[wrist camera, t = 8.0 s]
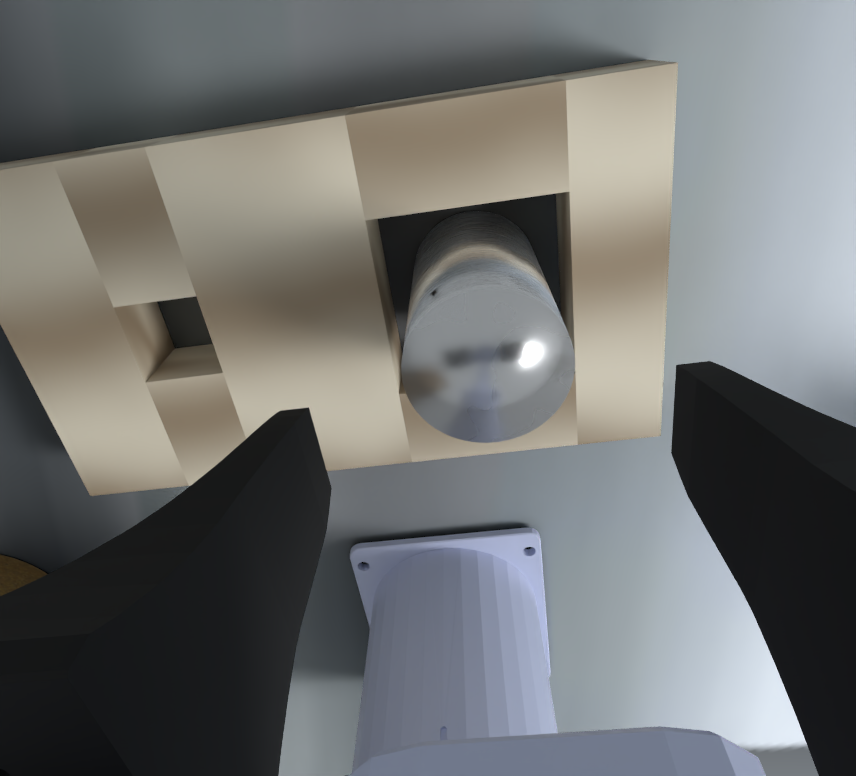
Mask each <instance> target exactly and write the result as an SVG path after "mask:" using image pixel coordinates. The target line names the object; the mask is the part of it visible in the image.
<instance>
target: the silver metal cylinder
mask: <svg viewBox="0 0 856 776" xmlns="http://www.w3.org/2000/svg"><path fill="white" fill-rule="evenodd" d="M574 372H575V354H574V348H573V345H572V341H571V338H570V336H569V334H568V331H567V329H566V326H565V324H564V322H563V319H562V317H561V315H560V312H559V310H558V308H557V305H556V303H555V300H554V298H553V296H552V293H551V291H550V289H549V286H548V284H547V282H546V279H545V277H544V274H543V272H542V270H541V267H540V265H539V263H538V260H537V258H536V256H535V253H534V251H533V248H532V246H531V244H530V242H529V240H528V238H527V237H526V235H525V234H524V233H523V232H522V230H521V229H520V228H519V227H518V226H517V225H515V224H514V223H513V222H511V221H510V220H508V219H507V218H505V217H503V216H501V215H498V214H495V213H492V212H486V211H467V212H462V213H458V214H455V215H453V216H450V217H448V218H447V219H445V220H443V221H441V222H440V223H439V224H437V225H436V226H435V227H434V228H433V229H432V230H431V231H430V232H429V233H428V234H427V235H426V237H425V238H424V240H423V241H422V243H421V245H420V247H419V249H418V252H417V255H416V259H415V265H414V273H413V280H412V288H411V295H410V303H409V310H408V318H407V325H406V333H405V340H404V347H403V355H402V362H401V374H402V381H403V386H404V389H405V392H406V395H407V397H408V399H409V401H410V403H411V404H412V406H413V407H414V409H415V410H416V412H417V413H418V414H419V415H420V416H421V417H422V418H423V419H424V420H425V421H426V422H427V423H428V424H430V425H431V426H432V427H434V428H435V429H437V430H439V431H440V432H442V433H444V434H446V435H449V436H451V437H454V438H457V439H460V440H464V441H470V442H478V443H491V442H501V441H506V440H510V439H514V438H517V437H520V436H522V435H525V434H527V433H529V432H531V431H533V430H534V429H536V428H538V427H539V426H541V425H542V424H543V423H545V422H546V421H547V420H548V419H549V418H550V417H552V416H553V415H554V414H555V412H556V411H557V410H558V409H559V408H560V406H561V405H562V403H563V402H564V400H565V399H566V397H567V395H568V393H569V391H570V388H571V385H572V382H573V378H574Z"/></svg>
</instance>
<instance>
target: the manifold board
mask: <svg viewBox="0 0 856 776" xmlns="http://www.w3.org/2000/svg"><path fill="white" fill-rule="evenodd" d="M677 71H678V63H676V62H665V61H655V60H644V61H638V62H632V63H625V64H619V65H613V66H607V67H600V68H594V69H588V70H581V71H575V72H569V73H563V74H556V75H550V76H544V77H538V78H531V79H525V80H519V81H512V82H506V83H500V84H494V85H487V86H481V87H475V88H469V89H462V90H456V91H450V92H443V93H437V94H431V95H425V96H418V97H412V98H406V99H400V100H393V101H387V102H381V103H374V104H368V105H362V106H356V107H349V108H343V109H337V110H331V111H324V112H318V113H312V114H305V115H299V116H293V117H287V118H280V119H274V120H268V121H262V122H255V123H249V124H243V125H236V126H230V127H224V128H218V129H211V130H205V131H199V132H193V133H186V134H180V135H174V136H167V137H161V138H155V139H149V140H142V141H136V142H130V143H124V144H117V145H111V146H105V147H98V148H92V149H86V150H80V151H73V152H67V153H61V154H55V155H48V156H42V157H36V158H29V159H23V160H17V161H11V162H4V163H0V325H1V327H2V328H3V330H4V332H5V334H6V336H7V338H8V340H9V342H10V344H11V346H12V347H13V349H14V351H15V353H16V355H17V357H18V359H19V361H20V363H21V365H22V367H23V368H24V370H25V372H26V374H27V376H28V378H29V380H30V382H31V384H32V386H33V387H34V389H35V391H36V393H37V395H38V397H39V399H40V401H41V403H42V405H43V406H44V408H45V410H46V412H47V414H48V416H49V418H50V420H51V422H52V424H53V426H54V427H55V429H56V431H57V433H58V435H59V437H60V439H61V441H62V443H63V445H64V446H65V448H66V450H67V452H68V454H69V456H70V458H71V460H72V462H73V464H74V465H75V467H76V469H77V471H78V473H79V475H80V477H81V479H82V481H83V483H84V485H85V486H86V488H87V490H88V492H89V494H90V496H95V495H104V494H114V493H123V492H133V491H142V490H152V489H161V488H171V487H180V486H190V485H192V484H193V483H195V482H196V481H197V480H198V479H200V478H201V477H202V476H203V475H205V474H206V473H207V472H208V471H210V470H211V469H212V468H213V467H215V466H216V465H217V464H218V463H219V462H220V461H222V460H223V459H224V458H225V457H226V456H227V455H228V454H230V453H231V452H232V451H233V450H234V449H235V448H236V447H238V446H239V445H240V444H241V443H242V442H243V441H244V440H245V439H247V438H248V437H249V436H250V435H251V434H252V433H253V432H254V431H256V430H257V429H258V428H259V427H260V426H261V425H262V424H264V423H265V422H266V421H267V420H268V419H269V418H271V417H272V416H273V415H275V414H276V413H277V412H279V411H282V410H291V409H300V408H308V407H309V410H310V413H311V417H312V420H313V424H314V427H315V431H316V435H317V438H318V442H319V445H320V449H321V452H322V456H323V460H324V463H325V467H326V470H327V471H332V470H342V469H351V468H361V467H370V466H380V465H389V464H399V463H408V462H418V461H427V460H437V459H446V458H455V457H465V456H474V455H484V454H493V453H503V452H512V451H522V450H531V449H541V448H550V447H560V446H569V445H579V444H588V443H598V442H607V441H617V440H626V439H636V438H645V437H655V436H661V416H662V395H663V373H664V351H665V330H666V308H667V287H668V265H669V243H670V222H671V200H672V179H673V157H674V135H675V114H676V92H677ZM549 194H556V211H557V234H558V257H559V280H560V303H561V317H562V319H563V322H564V324H565V326H566V329H567V331H568V334H569V336H570V338H571V341H572V345H573V348H574V354H575V372H574V378H573V382H572V385H571V388H570V391H569V393H568V395H567V397H566V399H565V400H564V402H563V403H562V405H561V406H560V408H559V409H558V410H557V411H556V412H555V414H554V415H553V416H552V417H550V418H549V419H548V420H547V421H546V422H545V423H543V424H542V425H541V426H539V427H538V428H536V429H534V430H533V431H531V432H529V433H527V434H525V435H522V436H520V437H517V438H514V439H510V440H506V441H501V442H491V443H478V442H470V441H464V440H460V439H457V438H454V437H451V436H449V435H446V434H444V433H442V432H440V431H439V430H437V429H435V428H434V427H432V426H431V425H430V424H428V423H427V422H426V421H425V420H424V419H423V418H422V417H421V416H420V415H419V414H418V413H417V412H416V410H415V409H414V407H413V406H412V404H411V403H410V401H409V399H408V397H407V395H406V392H405V389H404V386H403V381H402V374H401V362H402V355H403V354H402V349H401V343H400V338H399V333H398V327H397V322H396V316H395V311H394V306H393V300H392V295H391V289H390V284H389V278H388V273H387V268H386V262H385V257H384V251H383V246H382V241H381V235H380V230H379V224H378V219H380V218H387V217H394V216H401V215H408V214H415V213H422V212H429V211H436V210H443V209H450V208H457V207H464V206H471V205H478V204H485V203H492V202H499V201H506V200H513V199H520V198H527V197H534V196H542V195H549ZM195 296H196V297H197V299H198V302H199V305H200V308H201V311H202V314H203V317H204V320H205V322H206V325H207V328H208V331H209V334H210V337H211V340H212V343H213V344H207V345H199V346H191V347H183V348H175V347H174V345H173V342H172V339H171V337H170V334H169V332H168V329H167V326H166V324H165V321H164V319H163V316H162V313H161V311H160V308H159V306H158V303H157V302H158V301H165V300H172V299H180V298H187V297H195Z"/></svg>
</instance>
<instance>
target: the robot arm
mask: <svg viewBox="0 0 856 776" xmlns="http://www.w3.org/2000/svg"><path fill="white" fill-rule="evenodd" d="M671 453H672V456H673V459H674V461H675V464H676V467H677V469H678V472H679V475H680V477H681V480H682V482H683V485H684V487H685V490H686V492H687V495H688V497H689V499H690V500H691V502H692V504H693V506H694V508H695V509H696V511H697V513H698V515H699V517H700V518H701V520H702V522H703V524H704V526H705V527H706V529H707V531H708V533H709V534H710V536H711V538H712V540H713V541H714V543H715V545H716V547H717V548H718V550H719V552H720V553H721V555H722V557H723V559H724V560H725V562H726V564H727V566H728V567H729V569H730V571H731V573H732V574H733V576H734V578H735V580H736V581H737V583H738V585H739V587H740V588H741V590H742V592H743V594H744V596H745V598H746V600H747V602H748V604H749V606H750V608H751V610H752V612H753V614H754V616H755V618H756V621H757V623H758V625H759V628H760V630H761V632H762V634H763V637H764V639H765V641H766V644H767V646H768V648H769V651H770V653H771V655H772V658H773V660H774V662H775V665H776V667H777V670H778V672H779V674H780V677H781V679H782V682H783V684H784V687H785V689H786V692H787V694H788V697H789V699H790V702H791V704H792V706H793V709H794V711H795V714H796V716H797V719H798V722H799V724H800V727H801V729H802V732H803V735H804V737H805V740H806V743H807V745H808V748H809V750H810V753H811V756H812V758H813V761H814V764H815V766H816V769H817V771H818V774H819V776H856V427H853V426H851V425H848V424H846V423H844V422H841V421H839V420H836V419H834V418H832V417H829V416H827V415H824V414H822V413H820V412H818V411H815V410H813V409H811V408H809V407H806V406H804V405H802V404H800V403H798V402H796V401H793V400H791V399H789V398H787V397H785V396H783V395H781V394H779V393H777V392H775V391H773V390H771V389H769V388H766V387H764V386H762V385H760V384H758V383H756V382H754V381H752V380H750V379H748V378H746V377H744V376H742V375H740V374H738V373H736V372H734V371H732V370H730V369H727V368H725V367H723V366H721V365H718V364H716V363H713V362H710V361H707V362H699V363H690V364H681V365H676V381H675V399H674V416H673V434H672V452H671ZM330 496H331V485H330V481H329V478H328V474H327V470H326V467H325V463H324V460H323V456H322V452H321V449H320V445H319V442H318V438H317V435H316V431H315V427H314V424H313V420H312V417H311V413H310V410H309V407H308V408H300V409H291V410H282V411H279V412H277V413H276V414H275V415H273V416H272V417H271V418H269V419H268V420H267V421H266V422H265V423H264V424H262V425H261V426H260V427H259V428H258V429H257V430H256V431H254V432H253V433H252V434H251V435H250V436H249V437H248V438H247V439H245V440H244V441H243V442H242V443H241V444H240V445H239V446H238V447H236V448H235V449H234V450H233V451H232V452H231V453H230V454H228V455H227V456H226V457H225V458H224V459H223V460H222V461H220V462H219V463H218V464H217V465H216V466H215V467H213V468H212V469H211V470H210V471H208V472H207V473H206V474H205V475H203V476H202V477H201V478H200V479H198V480H197V481H196V482H195V483H193V484H192V485H191V486H190V487H188V488H187V489H186V490H185V491H183V492H182V493H181V494H180V495H178V496H177V497H176V498H174V499H173V500H172V501H170V502H169V503H167V504H166V505H165V506H163V507H162V508H160V509H159V510H158V511H156V512H155V513H153V514H152V515H150V516H149V517H147V518H146V519H144V520H143V521H141V522H140V523H138V524H137V525H135V526H134V527H132V528H130V529H129V530H127V531H126V532H124V533H122V534H120V535H119V536H117V537H115V538H113V539H112V540H110V541H108V542H107V543H105V544H103V545H101V546H100V547H98V548H96V549H94V550H93V551H91V552H89V553H87V554H86V555H84V556H82V557H80V558H79V559H77V560H75V561H73V562H71V563H69V564H67V565H65V566H63V567H61V568H59V569H57V570H55V571H53V572H51V573H49V574H47V575H45V576H43V577H41V578H39V579H37V580H35V581H33V582H31V583H28V584H26V585H24V586H22V587H20V588H18V589H16V590H13V591H11V592H9V593H7V594H4V595H2V596H0V776H278V773H279V764H280V755H281V746H282V739H283V731H284V724H285V717H286V709H287V702H288V695H289V688H290V682H291V676H292V669H293V663H294V656H295V650H296V645H297V641H298V636H299V632H300V627H301V623H302V620H303V616H304V612H305V609H306V605H307V601H308V598H309V594H310V590H311V587H312V583H313V579H314V576H315V572H316V568H317V565H318V561H319V557H320V553H321V550H322V546H323V542H324V538H325V534H326V530H327V522H328V515H329V506H330ZM526 547H533V548H532V549H525V548H526ZM350 560H351V564H352V567H353V571H354V574H355V578H356V581H357V585H358V588H359V592H360V596H361V599H362V603H363V606H364V610H365V613H366V617H367V620H368V624H369V628H370V632H369V640H368V648H367V656H366V664H365V672H364V680H363V688H362V696H361V704H360V712H359V720H358V728H357V736H356V744H355V752H354V760H353V768H352V773H351V774H350V775H345V776H766V774H765V772H764V770H763V768H762V765H761V763H760V761H759V758H758V757H757V756H755V755H753V754H751V753H750V752H748V751H746V750H744V749H743V748H741V747H739V746H737V745H735V744H734V743H732V742H730V741H728V740H726V739H725V738H723V737H721V736H719V735H717V734H715V733H712V732H710V731H702V730H691V729H681V728H670V727H645V728H629V729H614V730H598V731H582V732H567V733H558V732H557V725H556V719H555V713H554V707H553V701H552V695H551V689H550V683H549V676H550V674H551V672H550V658H549V645H548V632H547V618H546V605H545V592H544V578H543V565H542V552H541V540H540V535H539V532H538V531H537V530H536V529H533V528H516V529H506V530H495V531H485V532H474V533H463V534H453V535H442V536H431V537H421V538H410V539H399V540H389V541H378V542H367V543H359V544H355V545H354V546H353V547H352V548H351V551H350ZM361 562H366V563H368V564H362V563H361Z"/></svg>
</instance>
